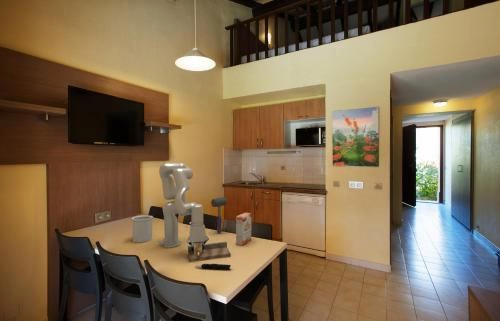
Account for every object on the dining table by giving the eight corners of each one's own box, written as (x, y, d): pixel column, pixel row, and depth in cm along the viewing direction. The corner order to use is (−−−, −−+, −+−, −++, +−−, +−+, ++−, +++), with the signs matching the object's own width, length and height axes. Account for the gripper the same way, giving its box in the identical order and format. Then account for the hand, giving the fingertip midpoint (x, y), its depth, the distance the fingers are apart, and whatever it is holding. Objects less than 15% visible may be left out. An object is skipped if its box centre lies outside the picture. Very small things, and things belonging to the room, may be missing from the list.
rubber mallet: (216, 235, 191) (215, 199, 191) (210, 233, 196) (210, 198, 196) (227, 232, 200) (227, 197, 200) (222, 230, 205) (221, 196, 205)
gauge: (194, 257, 144) (194, 246, 144) (193, 251, 154) (193, 240, 154) (202, 256, 145) (202, 245, 145) (201, 250, 156) (201, 239, 156)
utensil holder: (142, 235, 193) (142, 214, 193) (157, 237, 188) (156, 215, 188) (127, 241, 180) (127, 218, 179) (142, 244, 174) (142, 220, 174)
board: (188, 262, 142) (188, 253, 142) (187, 253, 156) (187, 245, 156) (230, 256, 150) (230, 248, 150) (226, 248, 163) (226, 241, 163)
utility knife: (193, 269, 133) (193, 264, 133) (195, 266, 137) (195, 261, 137) (230, 271, 131) (230, 265, 131) (231, 267, 135) (231, 262, 135)
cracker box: (243, 246, 168) (242, 217, 168) (235, 244, 170) (235, 216, 170) (251, 240, 180) (251, 212, 180) (245, 238, 183) (244, 212, 183)
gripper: (183, 226, 146) (184, 255, 146) (211, 223, 151) (211, 252, 151) (183, 223, 153) (184, 250, 153) (209, 221, 158) (210, 247, 158)
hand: (197, 251), depth 152 cm, fingers closed on gauge, 5 cm apart
